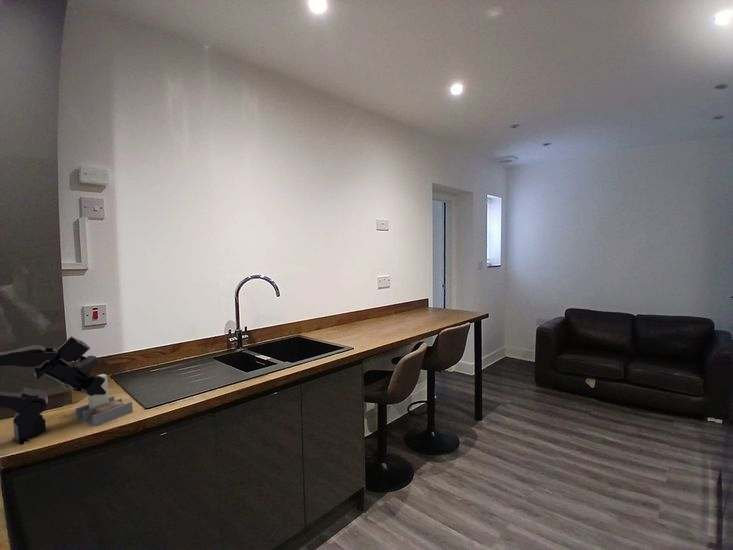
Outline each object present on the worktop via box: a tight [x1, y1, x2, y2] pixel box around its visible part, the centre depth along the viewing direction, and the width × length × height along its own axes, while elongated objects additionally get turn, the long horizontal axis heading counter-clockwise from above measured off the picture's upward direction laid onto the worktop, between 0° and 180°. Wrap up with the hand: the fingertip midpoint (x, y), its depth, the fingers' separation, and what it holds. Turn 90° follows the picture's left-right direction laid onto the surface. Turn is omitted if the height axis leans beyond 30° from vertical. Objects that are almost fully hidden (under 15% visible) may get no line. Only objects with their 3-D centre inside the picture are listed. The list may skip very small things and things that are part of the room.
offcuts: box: [90, 401, 125, 421], centre depth 128 cm, size 9×4×4 cm, turn 152°
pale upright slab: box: [87, 373, 110, 409], centre depth 130 cm, size 5×3×13 cm, turn 151°
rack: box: [74, 395, 134, 427], centre depth 129 cm, size 12×12×4 cm
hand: (102, 392), depth 132 cm, fingers closed on pale upright slab, 3 cm apart
